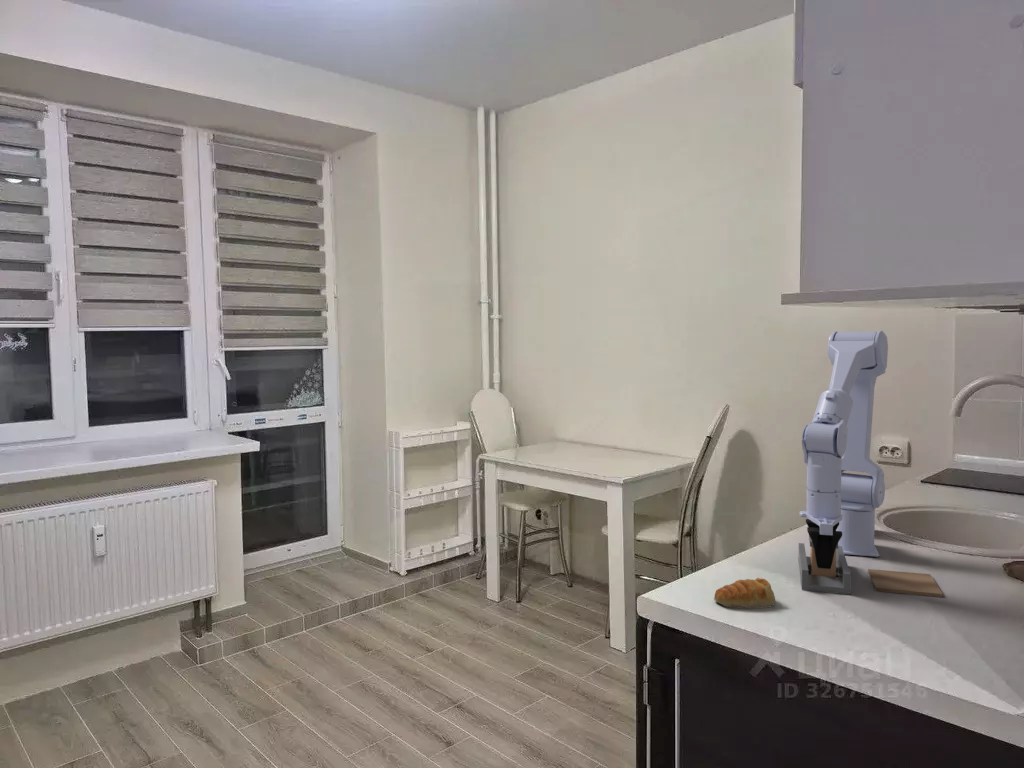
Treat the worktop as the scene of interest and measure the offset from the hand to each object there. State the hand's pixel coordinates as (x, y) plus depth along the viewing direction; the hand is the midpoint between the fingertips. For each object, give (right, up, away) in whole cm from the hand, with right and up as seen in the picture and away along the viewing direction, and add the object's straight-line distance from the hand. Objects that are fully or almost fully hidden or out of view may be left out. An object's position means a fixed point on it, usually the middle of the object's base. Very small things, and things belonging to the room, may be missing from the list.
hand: (823, 563), depth 128 cm
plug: (0, -2, 0) cm, 2 cm away
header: (0, -2, 0) cm, 2 cm away
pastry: (-17, -4, -11) cm, 21 cm away
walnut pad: (+12, -3, -4) cm, 13 cm away
